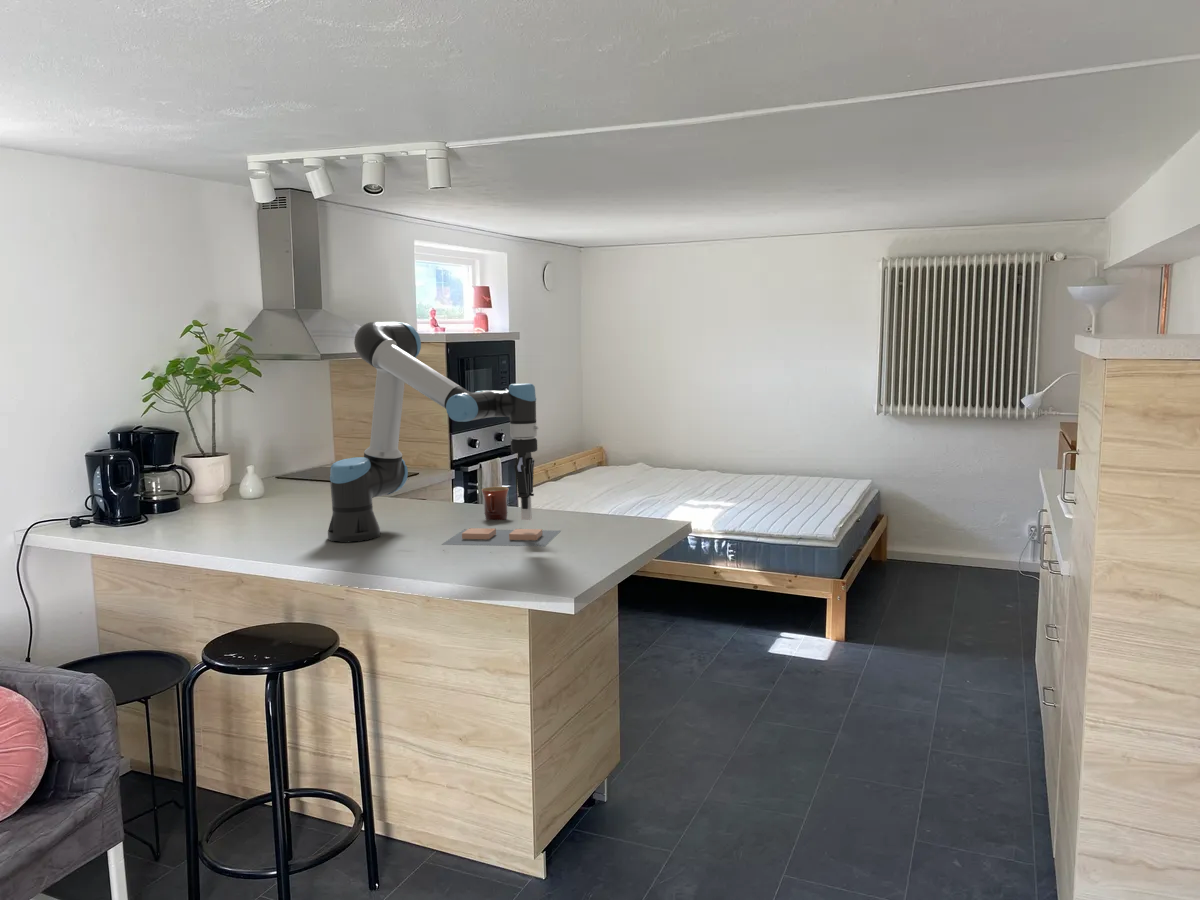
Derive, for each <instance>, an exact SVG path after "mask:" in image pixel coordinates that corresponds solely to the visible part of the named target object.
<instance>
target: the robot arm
mask: <svg viewBox="0 0 1200 900" xmlns="http://www.w3.org/2000/svg"><path fill="white" fill-rule="evenodd" d="M353 344H354V348H355V350H356V351H355V352H356V353H357V355H358V356H359V357H360V358H361V359H362V360H363V361H365V362H366V363H367V364H368V365H370V366H372V367H373V368H375V370H376V375H375V377H376V379H375V386H374V387H375V388H374V398H373V410H372V419H371V430H370V432H371V433H370V440H369V441H370V443H369V446H368V447H367V448H366V449H365V450H364V451H363V452H364V453H363V456H362V457H361V456H357V457H349V458H344V459H341V460H337V461H335V462H333V463H332V464H331V466H330V470H329V474H330V475H329V481H330V482H329V483H330V492H331V493H330V494H331V495H330V496H331V506H332V507H331V509H332V515H331V518H330V522H329V526H328V530H327V540H328V539H329V540H328V541H330V540H332V541H331V542H334V541H340V542H339V543H349V542H348V541H358V542H363V541H362V540H365V541H369V540H368V539H370V540H373V539H372V538H374V539H376V537H377V538H379V537H380V536H381V527H380V526H379V522H378V520H377V518H376V515H375V512H374V510H373V509H374V508H373V507H374V506H373V499H374V498H377V497H381V496H386V495H388V496H389V495H391V494H393V493H395V492H398V491H400V490H401V489H402V488H403V487H404V485H406V483H407V481H408V476H409V472H408V471H409V470H408V466H407V465H406V462H405V460H404V459H403V453H402V452H401V450H400V449H399V443H400V442H399V440H400V433H401V422H402V413H403V404H404V393H405V384H406V385H408V386H410V387H411V388H412V389H414V390H416V391H417V392H419V393H421V394H422V395H424V396H425V397H426V398H428V399H430V400H431V401H433V402H434V403H436V404H437V405H439V406H440V407H442V408H444V409H445V410H446V411H445V412H446V413H447V415H448V417H449V418H450V419H451V420H452V421H454V422H462V423H464V422H465V423H466V422H470V421H476V420H480V419H486V418H495V417H496V418H501V417H502V418H503V417H505V418H509V428H510V429H509V431H510V433H509V436H510V438H511V439H510V451H511V452H512V453H517V458H516V460H515V461H516V464H514V470H515V475H516V485H517V486H516V487H517V498H519V499H520V512H521V514H520V515H521V516H520V517H521V519H520V520H521V521H528V520H529V521H531V520H532V518H533V514H532V509H533V507H532V497H534V495H535V493H533V492H534V470H535V469H534V466H535V459H533V456H532V453H535V452H537V451H538V438H536V437H537V435H538V432H537V431H538V430H539V426H538V425H537V396H536V388H535V385H534V384H533V383H525V382H524V383H511V384H509V386H508V389H507V390H488V389H486V390H485V389H484V390H477V391H476V390H475V392H471V391H469V390H467V389H465V388H464V387H462V386H461V385H459V384H458V383H456V382H454V381H453V380H452V379H450V378H449V377H446V376H445V375H443V374H441V373H440V372H438V371H437V370H435V369H434V368H432V367H431V366H429V365H427V364H426V363H424V362H422V361H420V360H419V359H418V358H417V356H419V355H420V352H421V350H422V349H421V348H422V341H421V337H420V334H419V332H417V330H416V329H415V327H414V326H412V325H410V324H409V323H406V322H400V321H370V322H366V323H365V324H362V326H360V328H359V329H357V331H356V333H355V335H354V341H353ZM378 536H379V537H378Z"/></svg>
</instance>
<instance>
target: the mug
mask: <svg viewBox="0 0 1200 900" xmlns="http://www.w3.org/2000/svg"><path fill="white" fill-rule="evenodd" d="M508 493H509V487H507V486H489V487H484V488H481V494H482V496H483V501H484V502H483V504H484V506H483V507H484V510H483V511H484V513H483V514H484V518H485V520H486V521H505V520H506V519H508V502H507V500H508Z"/></svg>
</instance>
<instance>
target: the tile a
mask: <svg viewBox="0 0 1200 900" xmlns="http://www.w3.org/2000/svg"><path fill="white" fill-rule="evenodd" d="M467 529H468V530H466V531H465V532H463V533H462V539H473V540H488V539H490V538H491V537H493V536H494V535H495V534H496V530H497V529H496V528H481V527H479V528H478V527H477V528H476V527H475V528H473V527H471V528H467Z"/></svg>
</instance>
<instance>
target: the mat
mask: <svg viewBox="0 0 1200 900" xmlns="http://www.w3.org/2000/svg"><path fill="white" fill-rule="evenodd" d="M468 529H469V528H464V529H463V530H461V531H459V532H458V533H456V534H454V535H453V536H452V537H450V538H449V539H448V540H446V541H445V542H442V543H441V545H443V546H444V545H447V546H448V545H449V546H496V547H497V546H498V547H499V546H501V547H502V546H503V547H514V546H515V547H546V546H547V545H548V544H549V543H550V542H551V541H552V540H553V539H555V537H556V536H558V534H560V533H561V530H555V529H554V530H552V529H550V530H549V529H548V530H546V529H544V530H543V529H542V536H541V537H539V538H538V539H537V540H536V541H530V540H509V534H510V533H511V532H512V531H514V530H515V529H496V534H495V535H494V536H493V537H491V538H490V539H488V540H473V539H462V533H463V532H465V531H466V530H468Z"/></svg>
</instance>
